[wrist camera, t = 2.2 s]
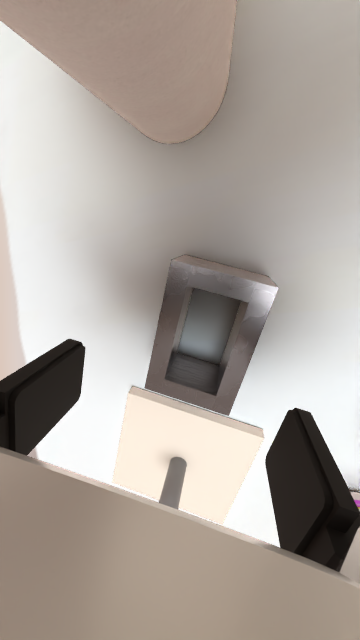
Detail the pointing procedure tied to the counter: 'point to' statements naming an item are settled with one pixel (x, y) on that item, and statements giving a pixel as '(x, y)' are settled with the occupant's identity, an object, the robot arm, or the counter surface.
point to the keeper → (183, 454)
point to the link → (225, 379)
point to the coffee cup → (138, 55)
